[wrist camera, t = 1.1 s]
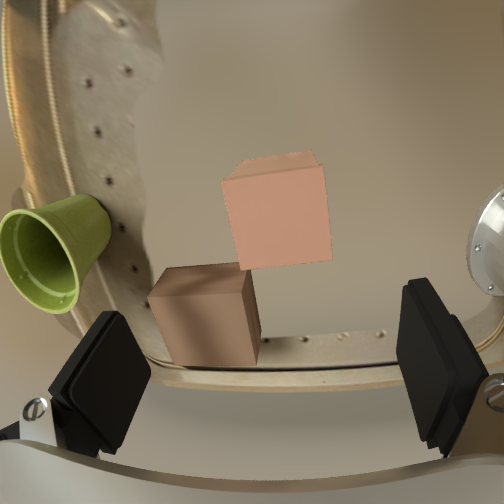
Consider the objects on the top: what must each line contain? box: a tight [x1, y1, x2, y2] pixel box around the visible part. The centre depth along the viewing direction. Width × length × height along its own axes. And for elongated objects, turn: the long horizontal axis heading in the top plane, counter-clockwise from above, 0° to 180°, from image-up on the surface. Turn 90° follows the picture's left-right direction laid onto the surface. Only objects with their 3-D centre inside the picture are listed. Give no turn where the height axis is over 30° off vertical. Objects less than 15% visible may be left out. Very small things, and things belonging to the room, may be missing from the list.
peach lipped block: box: [221, 151, 333, 270], centre depth 21 cm, size 6×6×7 cm
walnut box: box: [147, 262, 261, 366], centre depth 28 cm, size 8×8×5 cm
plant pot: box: [0, 194, 111, 314], centre depth 24 cm, size 9×9×9 cm
